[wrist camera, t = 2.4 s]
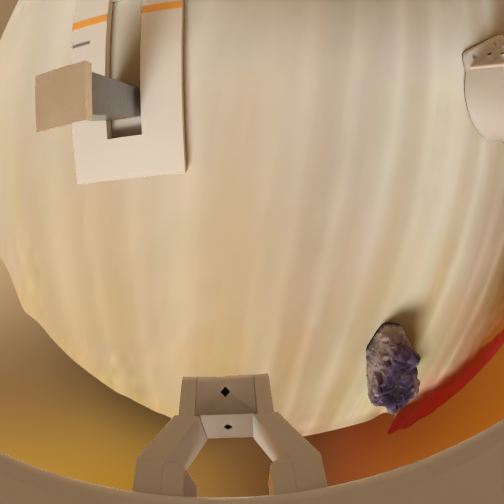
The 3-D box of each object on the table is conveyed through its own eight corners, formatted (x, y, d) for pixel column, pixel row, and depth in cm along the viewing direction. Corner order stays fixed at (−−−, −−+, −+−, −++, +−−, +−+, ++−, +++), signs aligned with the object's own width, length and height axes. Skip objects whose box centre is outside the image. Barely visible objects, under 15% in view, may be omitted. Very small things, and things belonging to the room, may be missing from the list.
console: (186, 170, 35) (185, 173, 33) (82, 182, 34) (77, 185, 32) (185, -33, 23) (184, -39, 22) (83, -12, 22) (78, -16, 21)
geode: (347, 338, 48) (376, 373, 39) (401, 307, 49) (435, 335, 40) (361, 401, 56) (383, 433, 47) (405, 375, 57) (430, 403, 47)
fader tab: (144, 119, 31) (85, 119, 17) (110, 124, 31) (36, 132, 16) (143, 84, 30) (85, 60, 15) (108, 90, 29) (35, 76, 14)
